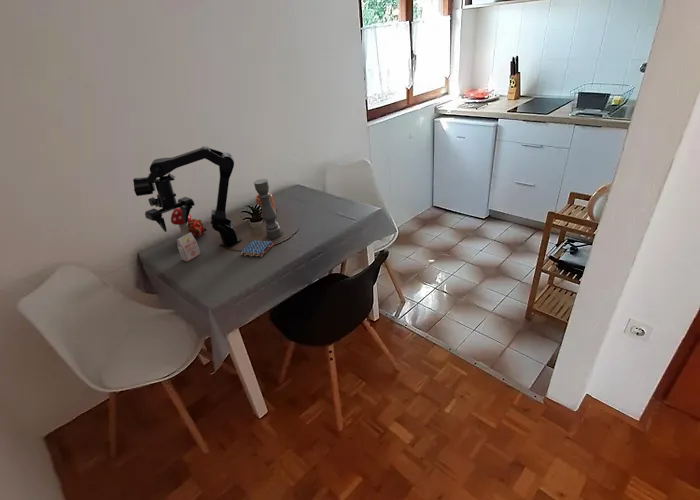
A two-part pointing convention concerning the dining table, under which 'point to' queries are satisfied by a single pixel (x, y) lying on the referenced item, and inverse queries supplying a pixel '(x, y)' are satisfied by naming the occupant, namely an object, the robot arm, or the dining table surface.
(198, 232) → the dragon fruit
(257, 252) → the woven mat
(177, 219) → the decorative mushroom
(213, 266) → the dining table surface
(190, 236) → the white printed carton
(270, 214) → the candle holder
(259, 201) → the terracotta cup
